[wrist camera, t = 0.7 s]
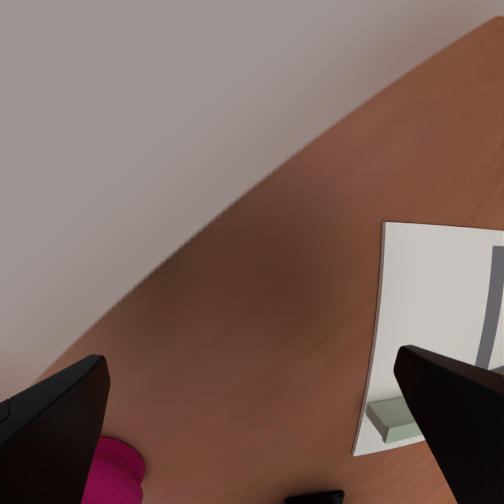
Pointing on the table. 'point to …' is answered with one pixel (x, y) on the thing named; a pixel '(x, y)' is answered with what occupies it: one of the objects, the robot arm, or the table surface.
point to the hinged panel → (393, 420)
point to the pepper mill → (114, 474)
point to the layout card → (433, 308)
